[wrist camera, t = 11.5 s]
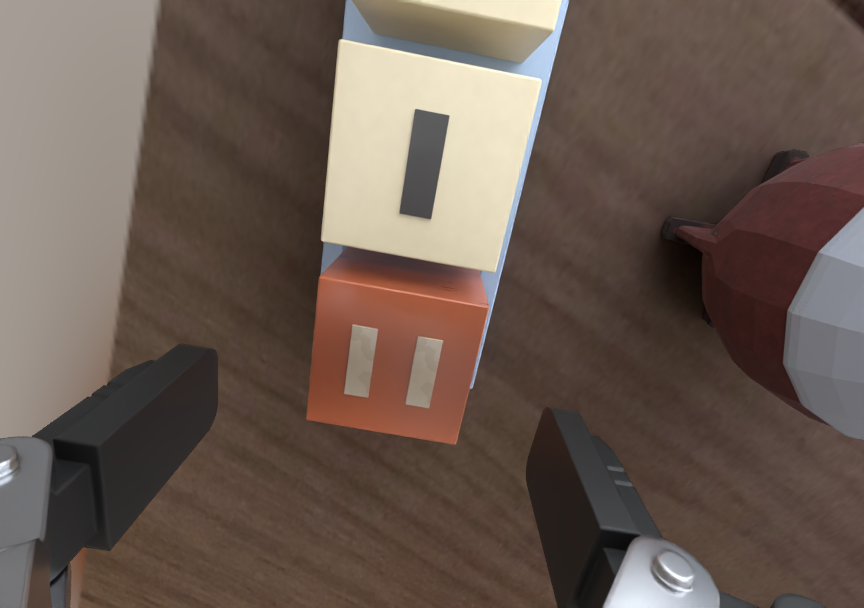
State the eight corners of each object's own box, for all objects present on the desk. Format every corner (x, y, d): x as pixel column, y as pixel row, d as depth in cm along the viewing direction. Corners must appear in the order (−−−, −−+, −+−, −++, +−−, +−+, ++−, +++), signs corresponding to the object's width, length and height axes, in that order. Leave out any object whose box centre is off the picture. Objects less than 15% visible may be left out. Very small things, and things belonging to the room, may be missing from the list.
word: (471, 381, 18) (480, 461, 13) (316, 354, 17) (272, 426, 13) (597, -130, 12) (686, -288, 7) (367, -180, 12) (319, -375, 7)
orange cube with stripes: (350, 242, 15) (317, 276, 11) (479, 266, 15) (490, 308, 11) (337, 357, 17) (304, 422, 13) (453, 378, 17) (456, 447, 13)
